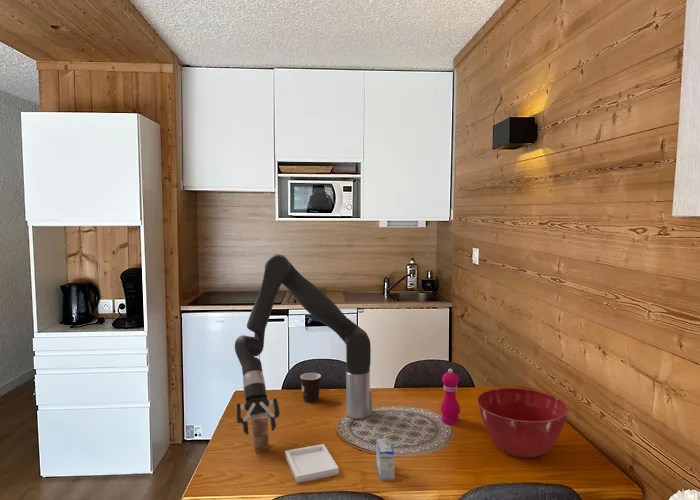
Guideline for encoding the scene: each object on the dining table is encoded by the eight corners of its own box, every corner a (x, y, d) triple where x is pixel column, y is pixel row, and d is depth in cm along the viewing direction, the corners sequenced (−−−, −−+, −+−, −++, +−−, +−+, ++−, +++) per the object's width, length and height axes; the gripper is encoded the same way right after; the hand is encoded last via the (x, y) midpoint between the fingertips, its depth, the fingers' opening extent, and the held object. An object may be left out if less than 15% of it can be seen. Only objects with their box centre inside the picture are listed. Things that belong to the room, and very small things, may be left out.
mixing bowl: (459, 437, 167) (459, 394, 166) (524, 422, 177) (525, 382, 176) (515, 478, 141) (516, 428, 139) (588, 459, 151) (589, 411, 150)
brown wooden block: (266, 443, 164) (265, 412, 163) (268, 449, 160) (267, 417, 159) (252, 445, 163) (251, 414, 162) (254, 452, 159) (253, 419, 158)
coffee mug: (320, 403, 198) (320, 379, 197) (299, 403, 198) (299, 379, 197) (322, 392, 209) (322, 370, 208) (302, 392, 209) (302, 370, 209)
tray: (323, 449, 159) (323, 443, 159) (338, 474, 144) (338, 468, 144) (285, 456, 155) (285, 450, 155) (296, 483, 140) (296, 476, 140)
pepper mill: (460, 425, 176) (460, 372, 174) (440, 424, 177) (440, 371, 175) (459, 417, 183) (460, 366, 181) (440, 416, 184) (440, 365, 182)
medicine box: (376, 466, 149) (375, 439, 148) (390, 465, 149) (390, 438, 148) (379, 480, 141) (379, 452, 140) (394, 479, 141) (394, 451, 141)
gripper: (234, 384, 165) (239, 431, 155) (275, 379, 169) (282, 424, 160) (233, 394, 170) (237, 439, 160) (273, 388, 175) (280, 432, 165)
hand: (260, 431), depth 160 cm, fingers open, 8 cm apart
